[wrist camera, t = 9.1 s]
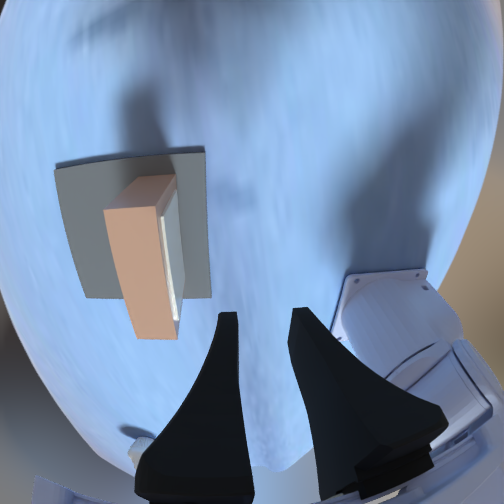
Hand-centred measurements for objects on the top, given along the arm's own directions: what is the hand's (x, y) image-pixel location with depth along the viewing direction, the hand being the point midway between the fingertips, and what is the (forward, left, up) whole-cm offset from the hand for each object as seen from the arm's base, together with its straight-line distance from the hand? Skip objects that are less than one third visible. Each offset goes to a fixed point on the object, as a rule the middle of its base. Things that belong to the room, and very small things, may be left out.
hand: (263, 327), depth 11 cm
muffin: (+17, +38, -10) cm, 43 cm away
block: (+6, 0, -9) cm, 11 cm away
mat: (+8, 0, -9) cm, 12 cm away
